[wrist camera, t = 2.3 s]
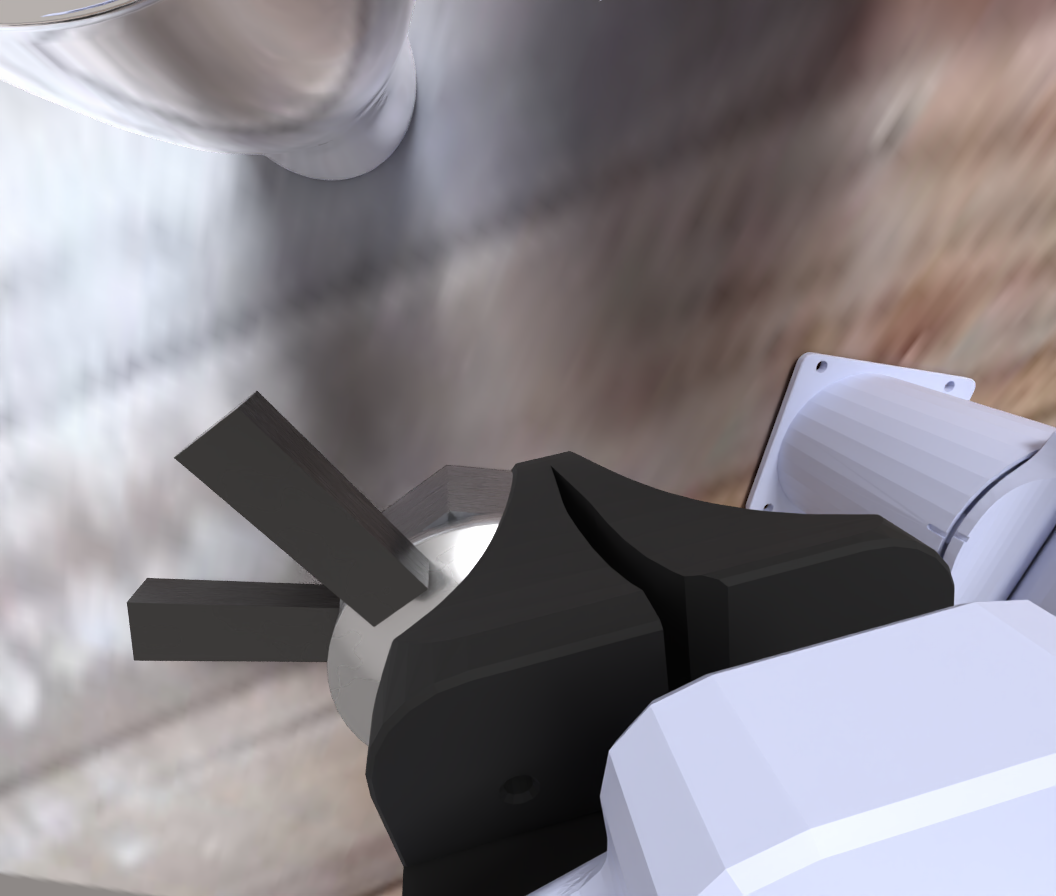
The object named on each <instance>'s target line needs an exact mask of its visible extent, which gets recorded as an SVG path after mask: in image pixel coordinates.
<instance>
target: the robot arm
mask: <svg viewBox="0 0 1056 896" xmlns="http://www.w3.org/2000/svg"><path fill="white" fill-rule="evenodd" d="M819 362H821V366H820V368H819V369H817V370H816V367H817V365H818V363H819ZM946 384H947V385H946ZM945 385H946V386H945ZM974 389H975V382H974V380H973V379H970V378H967V377H962V376H955V375H949V374H943V373H937V372H931V371H924V370H918V369H912V368H906V367H899V366H893V365H887V364H881V363H875V362H868V361H862V360H856V359H850V358H844V357H837V356H831V355H825V354H819V353H813V352H807V353H805V354H803V355H802V356H801V357H800V358H799V359H798V361H797V363H796V366H795V369H794V372H793V374H792V377H791V380H790V383H789V386H788V388H787V391H786V394H785V397H784V400H783V402H782V405H781V408H780V411H779V413H778V416H777V419H776V422H775V425H774V427H773V430H772V433H771V436H770V439H769V441H768V444H767V447H766V450H765V452H764V455H763V458H762V461H761V464H760V466H759V469H758V472H757V475H756V478H755V480H754V483H753V486H752V489H751V491H750V494H749V497H748V500H747V503H746V509H744V508H738V507H731V506H725V505H719V504H713V503H708V502H703V501H699V500H694V499H690V498H687V497H683V496H679V495H675V494H671V493H668V492H665V491H662V490H658V489H655V488H653V487H650V486H647V485H644V484H642V483H639V482H636V481H634V480H631V479H629V478H626V477H624V476H622V475H619V474H617V473H615V472H613V471H611V470H608V469H606V468H604V467H602V466H600V465H598V464H596V463H594V462H592V461H590V460H588V459H586V458H584V457H582V456H580V455H578V454H575V453H573V452H571V451H568V452H564V453H560V454H555V455H551V456H547V457H543V458H538V459H534V460H530V461H525V462H521V463H517V464H515V466H514V467H513V469H512V473H513V479H512V485H511V490H510V494H509V497H508V501H507V504H506V507H505V510H504V512H503V515H502V517H501V520H500V522H499V525H498V527H497V529H496V531H495V533H494V535H493V537H492V539H491V541H490V543H489V544H488V546H487V548H486V549H485V551H484V553H483V554H482V556H481V557H480V559H479V560H478V561H477V563H476V564H475V566H474V567H473V568H472V570H471V571H470V572H469V574H468V575H467V576H466V577H465V578H464V579H463V581H462V582H461V583H460V584H459V585H458V586H457V587H456V588H455V589H454V590H453V591H452V592H451V593H450V594H449V595H448V596H447V597H446V598H445V599H444V600H443V601H442V602H440V603H439V604H438V605H437V606H436V607H435V608H434V609H433V610H431V611H430V612H429V613H428V614H426V615H425V616H424V617H422V618H421V619H420V620H419V621H417V622H416V623H415V624H413V625H412V626H411V627H410V628H408V629H407V630H406V631H404V632H403V633H402V634H400V635H399V636H397V637H396V638H395V639H394V640H393V641H392V644H391V647H390V650H389V653H388V656H387V659H386V663H385V666H384V669H383V672H382V676H381V680H380V684H379V687H378V690H377V694H376V698H375V703H374V708H373V713H372V721H371V729H370V738H369V747H368V756H367V764H366V773H365V775H366V779H367V783H368V787H369V791H370V795H371V798H372V800H373V802H374V804H375V807H376V809H377V811H378V813H379V815H380V817H381V819H382V822H383V824H384V826H385V828H386V830H387V832H388V834H389V836H390V839H391V841H392V843H393V845H394V847H395V849H396V851H397V854H398V856H399V858H400V860H401V862H402V864H403V866H404V870H403V891H402V896H1056V427H1053V426H1049V425H1046V424H1043V423H1040V422H1036V421H1033V420H1030V419H1027V418H1023V417H1020V416H1017V415H1014V414H1011V413H1007V412H1004V411H1001V410H998V409H994V408H991V407H988V406H985V405H981V404H978V403H975V402H972V401H969V400H970V398H971V396H972V394H973V392H974ZM767 504H768V506H767V508H765V509H763V508H764V507H765V505H767Z"/></svg>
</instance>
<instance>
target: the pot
mask: <svg viewBox="0 0 1056 896" xmlns="http://www.w3.org/2000/svg"><path fill="white" fill-rule="evenodd" d="M512 479H513V473H512V471H507V470H496V469H484V468H473V467H462V466H451V465H446V466H445V467H443V468H442V469H441V470H439V471H438V472H436V473H435V474H434V475H432V476H431V477H430V478H428V479H427V480H425V481H424V482H423V483H421V484H420V485H419V486H417V487H416V488H415V489H413V490H412V491H410V492H409V493H408V494H406V495H405V496H404V497H402V498H401V499H400V500H398V501H397V502H395V503H394V504H393V505H391V506H390V507H389V508H387V509H386V510H384V511H383V512H382V514H383V515H384V516H385V517H386V518H387V519H388V520H389V521H390V522H391V523H392V524H393V525H394V526H395V527H396V528H397V529H398V530H399V531H400V532H401V533H402V534H403V535H404V536H405V537H406V538H407V539H408V538H410V537H412V536H414V535H416V534H418V533H421V532H423V531H425V530H427V529H429V528H432V527H435V526H437V525H440V524H443V523H446V522H449V521H452V520H457V519H462V518H466V517H471V516H476V515H486V514H496V513H503V512H504V510H505V507H506V504H507V501H508V497H509V494H510V490H511V485H512ZM343 603H344V601H342V600H341V599H340V598H339V597H338V596H336V595H335V594H334V593H333V592H332V591H331V590H329V589H328V588H327V587H326V586H325V585H318V584H291V583H265V582H238V581H212V580H185V579H159V578H147V579H146V580H145V581H144V583H143V584H142V585H141V586H140V587H139V589H138V590H137V591H136V592H135V593H134V595H133V596H132V597H131V598H130V599H129V601H128V602H127V607H128V615H129V623H130V631H131V639H132V648H133V656H134V660H139V661H278V662H327V660H328V653H329V645H330V642H331V638H332V634H333V630H334V627H335V623H336V620H337V617H338V614H339V611H340V609H341V607H342V605H343Z"/></svg>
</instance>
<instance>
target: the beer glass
mask: <svg viewBox="0 0 1056 896" xmlns="http://www.w3.org/2000/svg"><path fill="white" fill-rule="evenodd" d="M415 3H416V0H0V80H2V81H4V82H6V83H8V84H10V85H12V86H15V87H17V88H19V89H21V90H23V91H26V92H28V93H30V94H32V95H34V96H37V97H39V98H42V99H44V100H47V101H50V102H52V103H55V104H57V105H60V106H62V107H65V108H67V109H70V110H72V111H75V112H77V113H80V114H82V115H85V116H87V117H90V118H92V119H95V120H98V121H100V122H103V123H105V124H108V125H110V126H113V127H116V128H119V129H122V130H125V131H128V132H131V133H134V134H138V135H142V136H145V137H149V138H153V139H156V140H160V141H164V142H167V143H171V144H175V145H179V146H182V147H186V148H191V149H195V150H200V151H206V152H214V153H224V154H251V155H265V156H266V157H267V158H269V159H270V160H272V161H273V162H275V163H276V164H278V165H280V166H282V167H283V168H285V169H287V170H289V171H292V172H294V173H296V174H299V175H302V176H305V177H309V178H314V179H319V180H344V179H350V178H354V177H357V176H360V175H363V174H365V173H367V172H369V171H371V170H373V169H374V168H376V167H378V166H379V165H380V164H382V163H383V162H384V161H385V160H386V159H387V158H388V157H389V156H390V155H391V154H392V153H393V152H394V151H395V150H396V148H397V147H398V146H399V144H400V142H401V141H402V139H403V137H404V136H405V134H406V132H407V129H408V127H409V124H410V121H411V118H412V115H413V111H414V106H415V99H416V69H415V62H414V57H413V53H412V49H411V45H410V42H409V39H408V32H409V29H410V24H411V20H412V16H413V12H414V7H415Z"/></svg>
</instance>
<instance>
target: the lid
mask: <svg viewBox="0 0 1056 896" xmlns="http://www.w3.org/2000/svg"><path fill="white" fill-rule="evenodd" d="M174 458H175V459H176V460H177V461H178V462H180V463H181V464H182V465H183V466H184V467H186V468H187V469H188V470H189V471H190V472H191V473H193V474H194V475H195V476H196V477H197V478H199V479H200V480H201V481H202V482H203V483H204V484H206V485H207V486H208V487H209V488H210V489H211V490H213V491H214V492H215V493H216V494H217V495H219V496H220V497H221V498H222V499H223V500H224V501H226V502H227V503H228V504H229V505H230V506H232V507H233V508H234V509H235V510H236V511H237V512H239V513H240V514H241V515H242V516H243V517H245V518H246V519H247V520H248V521H249V522H250V523H252V524H253V525H254V526H255V527H256V528H257V529H259V530H260V531H261V532H262V533H263V534H265V535H266V536H267V537H268V538H269V539H270V540H272V541H273V542H274V543H275V544H276V545H278V546H279V547H280V548H281V549H282V550H283V551H285V552H286V553H287V554H288V555H289V556H290V557H292V558H293V559H294V560H295V561H296V562H298V563H299V564H300V565H301V566H302V567H303V568H305V569H306V570H307V571H308V572H309V573H311V574H312V575H313V576H314V577H315V578H316V579H318V580H319V581H320V582H321V583H322V584H323V585H325V586H326V587H327V588H328V589H329V590H331V591H332V592H333V593H334V594H335V595H336V596H338V597H339V598H340V599H341V600H342V601H344V603H343V605H342V607H341V609H340V611H339V614H338V617H337V620H336V623H335V627H334V630H333V634H332V638H331V642H330V645H329V653H328V660H327V671H328V683H329V687H330V692H331V696H332V699H333V701H334V703H335V706H336V708H337V710H338V712H339V714H340V715H341V717H342V719H343V720H344V722H345V723H346V725H347V726H348V727H349V728H350V729H351V731H352V732H353V733H354V734H355V735H356V736H357V737H358V738H359V739H360V740H361V741H363V742H364V743H365V744H366V745H367V746H369V738H370V729H371V721H372V713H373V708H374V703H375V698H376V694H377V690H378V687H379V684H380V680H381V676H382V672H383V669H384V666H385V663H386V659H387V656H388V653H389V650H390V647H391V644H392V641H393V640H394V639H395V638H396V637H397V636H399V635H400V634H402V633H403V632H404V631H406V630H407V629H408V628H410V627H411V626H412V625H413V624H415V623H416V622H417V621H419V620H420V619H421V618H422V617H424V616H425V615H426V614H428V613H429V612H430V611H431V610H433V609H434V608H435V607H436V606H437V605H438V604H439V603H440V602H442V601H443V600H444V599H445V598H446V597H447V596H448V595H449V594H450V593H451V592H452V591H453V590H454V589H455V588H456V587H457V586H458V585H459V584H460V583H461V582H462V581H463V579H464V578H465V577H466V576H467V575H468V574H469V572H470V571H471V570H472V568H473V567H474V566H475V564H476V563H477V561H478V560H479V559H480V557H481V556H482V554H483V553H484V551H485V549H486V548H487V546H488V544H489V543H490V541H491V539H492V537H493V535H494V533H495V531H496V529H497V527H498V525H499V522H500V520H501V517H502V515H503V513H496V514H486V515H476V516H471V517H466V518H462V519H457V520H452V521H449V522H446V523H443V524H440V525H437V526H435V527H432V528H429V529H427V530H425V531H423V532H421V533H418V534H416V535H414V536H412V537H410V538H408V539H407V538H406V537H405V536H404V535H403V534H402V533H401V532H400V531H399V530H398V529H397V528H396V527H395V526H394V525H393V524H392V523H391V522H390V521H389V520H388V519H387V518H386V517H385V516H384V515H383V514H382V513H381V512H380V511H379V510H378V509H377V508H376V507H375V506H374V505H373V504H372V503H371V502H370V501H369V500H368V499H367V498H366V497H364V496H363V495H362V494H361V493H360V492H359V491H358V490H357V489H356V488H355V487H354V486H353V485H352V484H351V483H350V482H349V481H348V480H347V479H346V478H345V477H344V476H343V475H342V474H341V473H340V472H339V471H338V470H337V469H336V468H335V467H334V466H333V465H332V464H331V463H330V462H329V461H328V460H327V459H326V458H325V457H324V456H323V455H322V454H321V453H320V452H319V451H318V450H317V449H316V448H315V447H314V446H313V445H312V444H311V443H310V442H309V441H308V440H307V439H306V438H305V437H304V436H303V435H302V434H301V433H300V432H299V431H298V430H296V429H295V428H294V427H293V426H292V425H291V424H290V423H289V422H288V421H287V420H286V419H285V418H284V417H283V416H282V415H281V414H280V413H279V412H278V411H277V410H276V409H275V408H274V407H273V406H272V405H271V404H270V403H269V402H268V401H267V400H266V399H265V398H264V397H263V396H262V395H261V394H260V393H259V392H258V391H256V392H255V393H254V394H252V395H251V396H250V397H249V398H247V399H246V400H245V401H243V402H242V403H241V404H240V405H238V406H237V407H236V408H234V409H233V410H232V411H231V412H229V413H228V414H227V415H226V416H224V417H223V418H222V419H220V420H219V421H218V422H217V423H215V424H214V425H213V426H211V427H210V428H209V429H208V430H206V431H205V432H204V433H203V434H201V435H200V436H199V437H198V438H196V439H195V440H194V441H193V442H192V443H191V444H189V445H188V446H187V447H186V448H185V449H184V450H182V451H181V452H180V453H179V454H178V455H177V456H175V457H174Z"/></svg>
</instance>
